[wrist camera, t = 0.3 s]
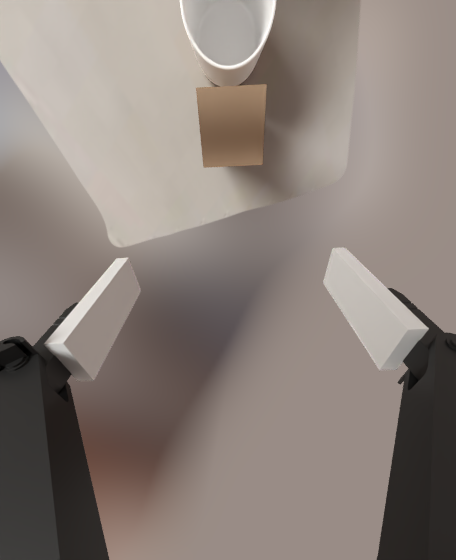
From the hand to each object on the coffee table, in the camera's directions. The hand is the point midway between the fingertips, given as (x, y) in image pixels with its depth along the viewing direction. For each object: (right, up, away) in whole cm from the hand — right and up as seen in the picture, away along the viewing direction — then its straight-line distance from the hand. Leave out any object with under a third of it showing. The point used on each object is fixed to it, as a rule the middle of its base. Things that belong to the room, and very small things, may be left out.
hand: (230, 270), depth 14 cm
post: (0, +23, +19) cm, 29 cm away
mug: (0, +32, +12) cm, 34 cm away
